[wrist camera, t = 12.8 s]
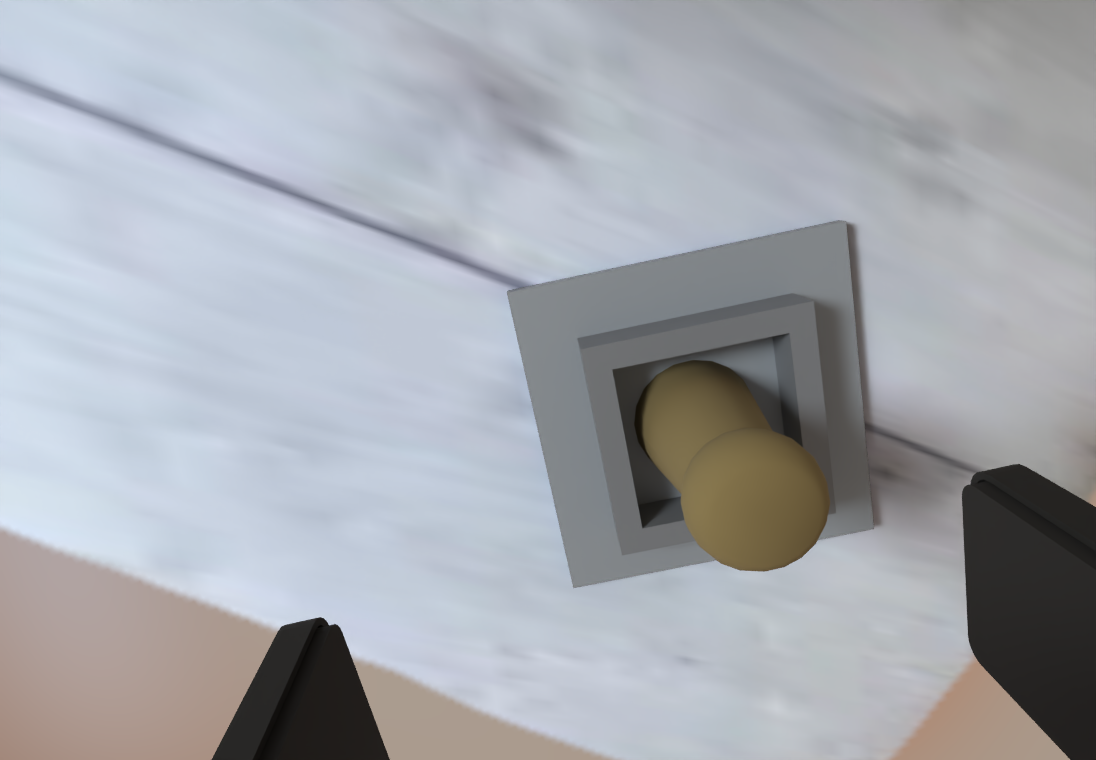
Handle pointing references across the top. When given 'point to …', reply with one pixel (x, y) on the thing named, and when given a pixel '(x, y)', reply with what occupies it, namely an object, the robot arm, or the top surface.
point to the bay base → (678, 336)
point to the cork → (731, 467)
